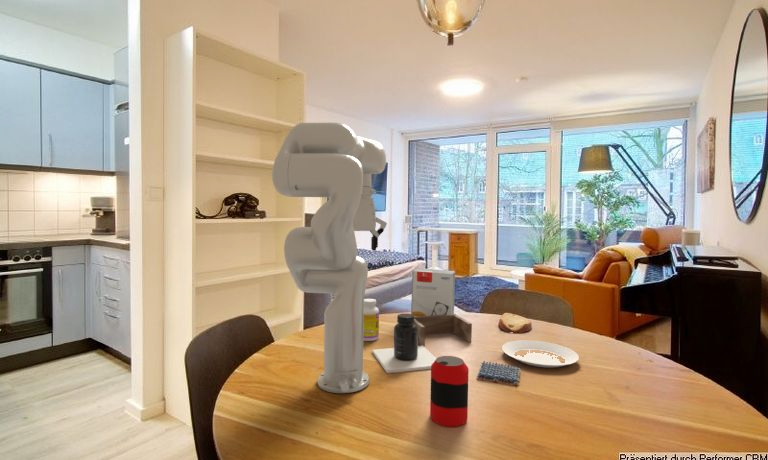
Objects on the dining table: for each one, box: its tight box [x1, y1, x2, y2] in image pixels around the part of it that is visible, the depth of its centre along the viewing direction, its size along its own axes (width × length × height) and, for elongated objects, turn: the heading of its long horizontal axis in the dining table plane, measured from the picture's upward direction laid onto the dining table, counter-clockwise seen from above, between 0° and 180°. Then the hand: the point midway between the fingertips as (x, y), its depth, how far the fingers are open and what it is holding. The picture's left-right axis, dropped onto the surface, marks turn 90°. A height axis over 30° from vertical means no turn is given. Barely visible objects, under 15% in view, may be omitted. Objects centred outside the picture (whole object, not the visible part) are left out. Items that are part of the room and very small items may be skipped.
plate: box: [501, 339, 580, 369], centre depth 119 cm, size 21×21×2 cm
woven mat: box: [475, 360, 522, 386], centre depth 106 cm, size 10×11×2 cm
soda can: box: [429, 355, 470, 428], centre depth 84 cm, size 8×8×12 cm
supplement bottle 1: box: [363, 298, 380, 342], centre depth 134 cm, size 7×7×13 cm
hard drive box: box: [410, 268, 456, 317], centre depth 154 cm, size 16×8×20 cm, turn 73°
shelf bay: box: [414, 313, 473, 347], centre depth 136 cm, size 12×17×6 cm
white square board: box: [371, 345, 438, 374], centre depth 116 cm, size 16×16×1 cm
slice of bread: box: [498, 312, 532, 334], centre depth 153 cm, size 18×18×4 cm
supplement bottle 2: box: [393, 313, 419, 361], centre depth 116 cm, size 7×7×12 cm
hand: (358, 250), depth 122 cm, fingers open, 9 cm apart
